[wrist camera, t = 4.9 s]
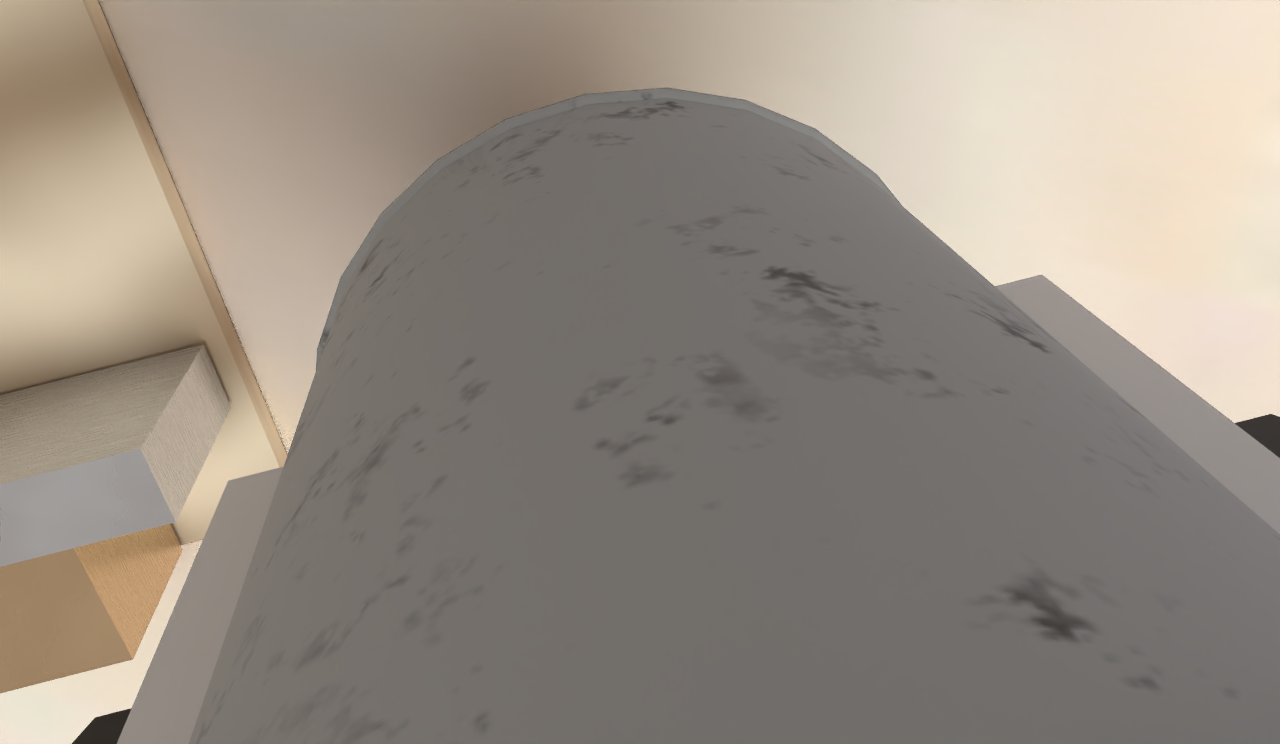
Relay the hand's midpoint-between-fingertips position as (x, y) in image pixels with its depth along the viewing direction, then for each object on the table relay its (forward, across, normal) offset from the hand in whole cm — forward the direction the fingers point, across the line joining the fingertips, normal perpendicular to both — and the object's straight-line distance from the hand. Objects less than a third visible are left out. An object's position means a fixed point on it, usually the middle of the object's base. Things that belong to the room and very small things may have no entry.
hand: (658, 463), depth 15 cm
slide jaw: (+16, -17, -5) cm, 24 cm away
